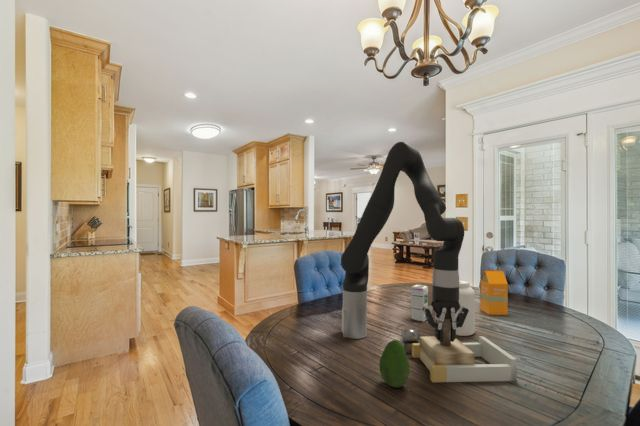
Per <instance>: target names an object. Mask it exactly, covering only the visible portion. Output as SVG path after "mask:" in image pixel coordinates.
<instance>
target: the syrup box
mask: <svg viewBox="0 0 640 426" xmlns="http://www.w3.org/2000/svg"><path fill="white" fill-rule="evenodd" d="M410 289H411V294H410V295H411V298H410V299H411V300H410V301H411V302H410V303H411V305H410V306H411V307H410V308H411V320H415V321H419V322H425V321H426V320H427V318H426V316H425V313H424V311H423V307H428V306H429V287H428V286H427V285H423V284H415V285H412V286H411V288H410Z"/></svg>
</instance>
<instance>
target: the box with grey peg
mask: <svg viewBox="0 0 640 426" xmlns="http://www.w3.org/2000/svg"><path fill="white" fill-rule="evenodd" d="M462 343H463V342H462V341H460V340H459V339H457V338H456V339H455V340H454V342H451V318H444V322H443V324H442V342H439V341H438V340H437V339H436V337H435V335H434V336H433V335H432V336H430V335H429V336H426V335H425V336H421V335H420V355H419V357H420V358H419V359H420V360H421V361H422V363H423V364H424V365H425V367H426V369H428V371H430V365H472V364H475V362H476V361H475V359H476V357H475V354H474V353H473V352H472V351H471V350H470V349H469V348H467V347H466V346H465V345H464V344H462Z"/></svg>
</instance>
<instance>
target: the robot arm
mask: <svg viewBox="0 0 640 426" xmlns="http://www.w3.org/2000/svg"><path fill="white" fill-rule="evenodd" d="M424 163H425V162H424V161H423V157H422V155H421V153H420V152H419V150H418V149H416V148H415V147H413V146H412V145H410V144H408V143H407V142H405V141H398V142H395V144H393V145H392V147H391V148H390V150H389V151H388V153H387V156H386V158H385V161H384V164H383V167H382V170H381V173H380V175H379V178H378V179H377V183H376V185H375V187H374V189H373V192H372V194H371V195H370V198H369V199H368V200H367V204H366V206H365V208H364V210H363V213H362V215H361V217H360V219H359V221H358V225H357V227H356V229H355V232H354V234H353V236H352V238H351V239H350V242H349V243H348V245H347V246H346V248H345V250H344V251H343V253H342V255H341V257H340V265H341V268H342V269H343V270H344V271H345V276H344V279H343V282H342V308H341V334H342V336H343V338H348V339H352V340H353V339H354V340H359V339H363V338H366V337H367V332H368V329H367V325H368V324H367V322H368V314H367V313H368V284H369V272H370V271H369V270H370V267H369V265H370V260H369V251H370V249H371V246H372V244H373V242H374V241H375V239H376V238H377V236H378V235H379V234H380V232H381V231H383V228H384V226H385V225H386V223H387V222H388V220H389V218H390V216H391V213H392V212H393V209H394V207H395V193H396V192H395V189H396V188H395V187H396V182H397V180H398V177H399V175H400V172H403V173H405V175H406V176H407V177H408V178H409V179H410V181H411V184H412V185H413V192H414V198H415V200H416V202H417V204H418V206H419V208H420V209H421V211H422V213H423V216H424V222H425V226H426V231H427V234H428V235H429V236H430V238H431V239H433V240H434V241H436V242H443V243H442V246H441V247H440V248H437V249H435V250H434V252H433V265H432V266H433V268H432V277H431V278H432V289H431V293H432V297H431V298H432V300H431V303H430V305H428V307H423V311H424V313H425V316H426V318H427V319H426V320H427V324H428V325H430V326H431V327H432V328H433V329H434V330H435V332H434V336H435V337H436V339H437V340H438V341H439V342H442V324H443V322H444V318H451V342H454V340H455V339H457V335H456V328H458V327H462V326H463V323H464V321H465V319H466V316H467V314H468V312H469V310H468V309H467V308H465V307H463V306H460V304H459V283H460V282H459V279H460V274H459V255H460V252H461V249H462V245H463V241H464V237H465V227H464V224H463V222H462V221H461V220H460V219H459V218H456V217H443V216H442V215H443V214H444V213H445V212H446V209H447V207H446V203H445V202H444V200H443V199H442V197H441V195H440V193H439V192H438V190H437V189H436V187H435V186H434V183H433V182H432V180H431V178H430V175H429V174H428V171H427V169H426V167H425V164H424ZM457 311H458V312H459V313H458V315H457V318H456V316H455V314H456V313H457ZM433 312H434V313H435V314H434V315H435V316H434V318H433V315H432V314H433Z"/></svg>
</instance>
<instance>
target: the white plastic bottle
mask: <svg viewBox="0 0 640 426" xmlns="http://www.w3.org/2000/svg"><path fill="white" fill-rule="evenodd" d="M459 282H460V283H459V304H460V306H463V307H465V308H467V309H468V310H469V312H468V314H467V316H466V319H465V321H464V323H463V326H462V327H458V328H456V336H464V337H467V336H472V335H474V333H475V332H476V293H475V291H474V289H473V288H472V287H471V286H470V285H471V284H470V282H469V281H467V280H465V279H460V278H459ZM458 313H459V312H458V311H457V313H456V314H455V316H456V318H457V315H458Z"/></svg>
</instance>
